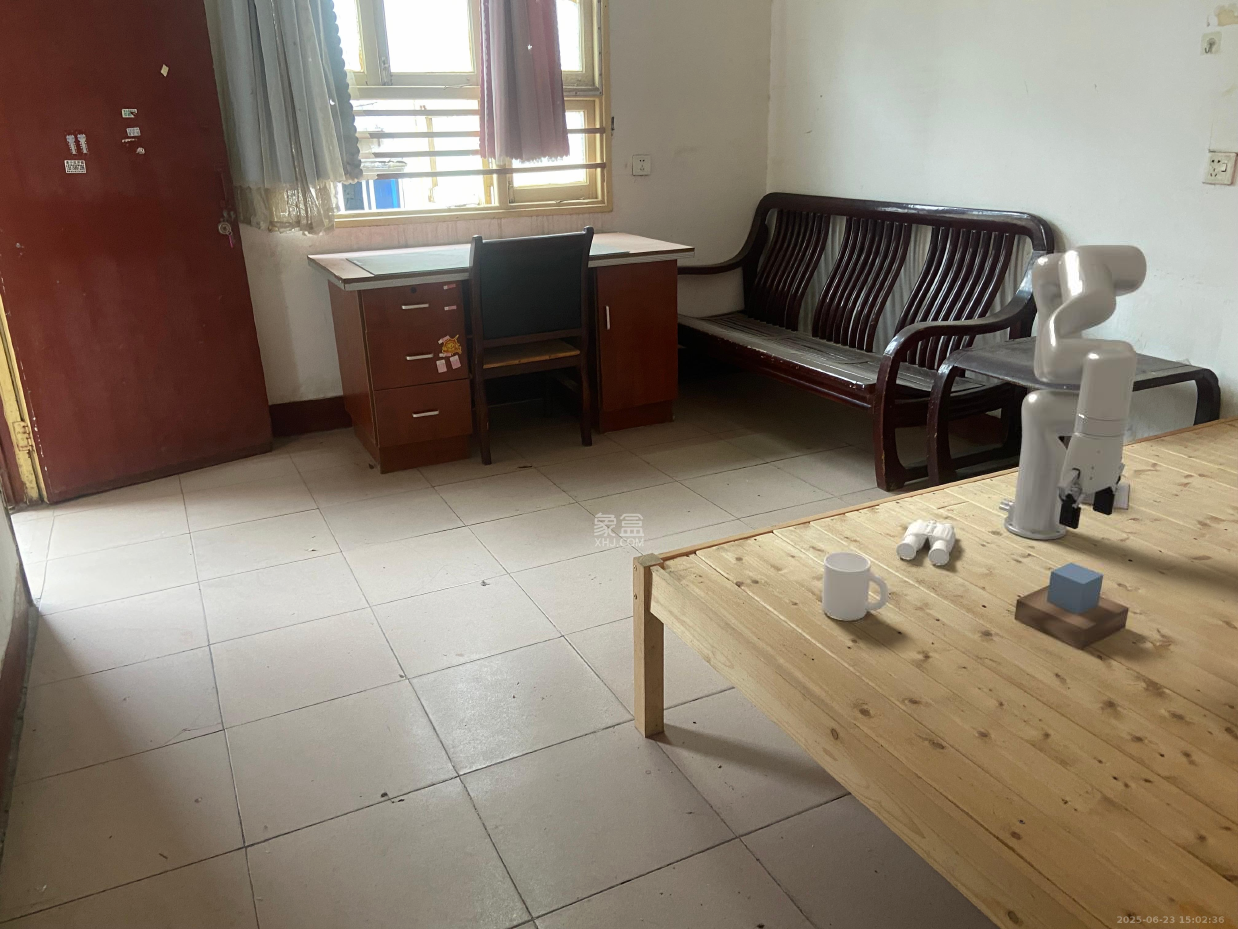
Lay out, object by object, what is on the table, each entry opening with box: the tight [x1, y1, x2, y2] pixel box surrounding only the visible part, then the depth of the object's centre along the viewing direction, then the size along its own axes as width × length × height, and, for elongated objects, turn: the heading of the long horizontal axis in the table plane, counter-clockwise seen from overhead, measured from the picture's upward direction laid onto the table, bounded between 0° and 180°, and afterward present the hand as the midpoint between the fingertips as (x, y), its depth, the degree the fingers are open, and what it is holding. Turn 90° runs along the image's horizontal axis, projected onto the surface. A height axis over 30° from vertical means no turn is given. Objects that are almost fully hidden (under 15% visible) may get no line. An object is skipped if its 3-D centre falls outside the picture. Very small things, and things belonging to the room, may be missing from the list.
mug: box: [821, 551, 889, 621], centre depth 166 cm, size 12×8×10 cm
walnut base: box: [1013, 584, 1130, 651], centre depth 162 cm, size 13×13×4 cm
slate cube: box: [1047, 562, 1104, 615], centre depth 160 cm, size 6×6×6 cm
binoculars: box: [895, 518, 957, 566], centre depth 193 cm, size 10×16×5 cm, turn 153°
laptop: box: [1071, 481, 1130, 510], centre depth 217 cm, size 18×13×13 cm
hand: (1085, 519), depth 156 cm, fingers open, 9 cm apart
